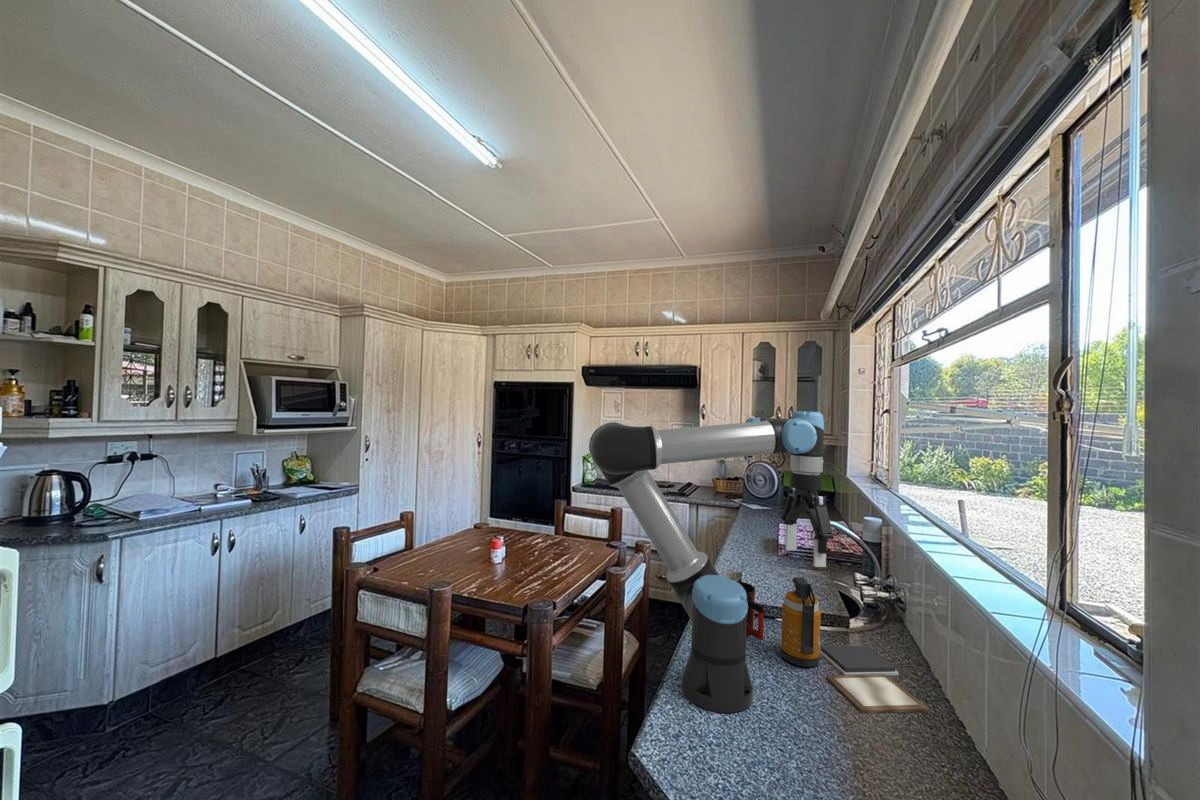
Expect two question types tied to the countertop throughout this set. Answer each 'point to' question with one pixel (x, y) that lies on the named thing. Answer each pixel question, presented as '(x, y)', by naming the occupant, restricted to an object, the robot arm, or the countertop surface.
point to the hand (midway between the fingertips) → (804, 557)
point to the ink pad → (857, 660)
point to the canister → (801, 625)
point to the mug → (750, 614)
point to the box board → (876, 694)
